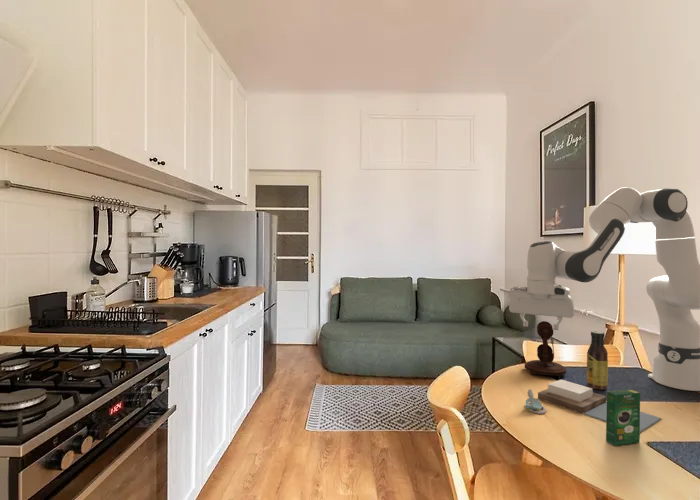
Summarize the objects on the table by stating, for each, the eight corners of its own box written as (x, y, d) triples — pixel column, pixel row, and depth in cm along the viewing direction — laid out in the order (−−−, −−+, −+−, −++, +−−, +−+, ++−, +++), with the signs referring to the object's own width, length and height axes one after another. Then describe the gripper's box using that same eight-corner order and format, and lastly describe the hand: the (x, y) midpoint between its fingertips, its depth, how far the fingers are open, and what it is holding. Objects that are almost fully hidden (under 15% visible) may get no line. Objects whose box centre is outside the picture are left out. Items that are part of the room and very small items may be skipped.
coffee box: (630, 437, 100) (630, 387, 100) (641, 443, 97) (641, 391, 97) (605, 441, 98) (605, 390, 98) (615, 447, 95) (615, 394, 95)
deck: (562, 389, 134) (562, 383, 134) (606, 402, 123) (606, 396, 122) (537, 398, 126) (537, 392, 126) (582, 413, 114) (582, 407, 114)
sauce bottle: (585, 383, 140) (585, 329, 140) (606, 385, 137) (606, 330, 137) (588, 389, 134) (588, 332, 134) (609, 392, 131) (609, 334, 131)
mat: (607, 402, 122) (607, 401, 122) (661, 419, 111) (661, 417, 111) (583, 414, 114) (583, 413, 114) (639, 433, 102) (639, 431, 102)
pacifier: (547, 408, 119) (526, 403, 122) (548, 388, 119) (526, 384, 122) (545, 417, 113) (522, 412, 116) (545, 396, 113) (523, 391, 116)
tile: (561, 386, 131) (561, 379, 131) (592, 396, 123) (592, 388, 123) (548, 391, 127) (548, 384, 127) (579, 401, 118) (579, 393, 118)
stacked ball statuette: (567, 381, 142) (567, 327, 142) (524, 376, 148) (524, 324, 148) (564, 370, 155) (564, 320, 155) (524, 365, 162) (524, 318, 161)
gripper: (507, 287, 136) (507, 326, 136) (574, 290, 125) (573, 333, 125) (510, 285, 141) (510, 323, 141) (574, 289, 130) (574, 329, 130)
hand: (540, 328), depth 133 cm, fingers open, 8 cm apart
